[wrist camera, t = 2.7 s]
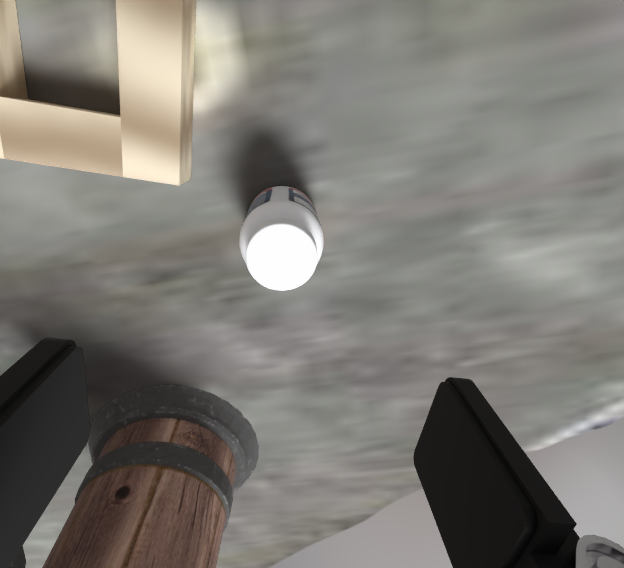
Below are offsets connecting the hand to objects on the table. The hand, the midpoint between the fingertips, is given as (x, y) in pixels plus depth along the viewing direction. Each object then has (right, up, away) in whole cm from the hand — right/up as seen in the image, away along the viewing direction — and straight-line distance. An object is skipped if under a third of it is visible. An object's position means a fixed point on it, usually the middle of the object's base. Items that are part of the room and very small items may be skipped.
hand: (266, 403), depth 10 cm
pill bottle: (-1, +8, +18) cm, 20 cm away
